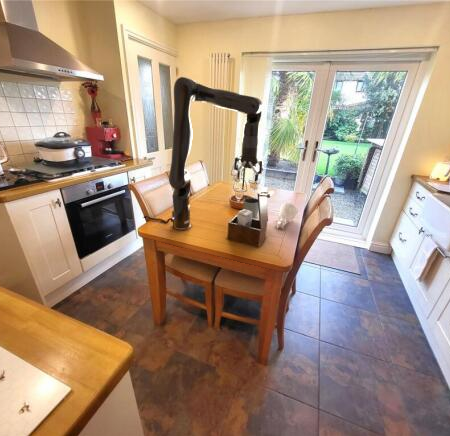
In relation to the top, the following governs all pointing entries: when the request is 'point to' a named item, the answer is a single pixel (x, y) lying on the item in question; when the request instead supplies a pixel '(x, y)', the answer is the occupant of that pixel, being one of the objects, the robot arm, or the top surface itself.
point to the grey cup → (251, 206)
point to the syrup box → (244, 218)
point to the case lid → (263, 206)
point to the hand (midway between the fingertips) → (247, 180)
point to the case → (246, 232)
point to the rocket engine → (286, 214)
